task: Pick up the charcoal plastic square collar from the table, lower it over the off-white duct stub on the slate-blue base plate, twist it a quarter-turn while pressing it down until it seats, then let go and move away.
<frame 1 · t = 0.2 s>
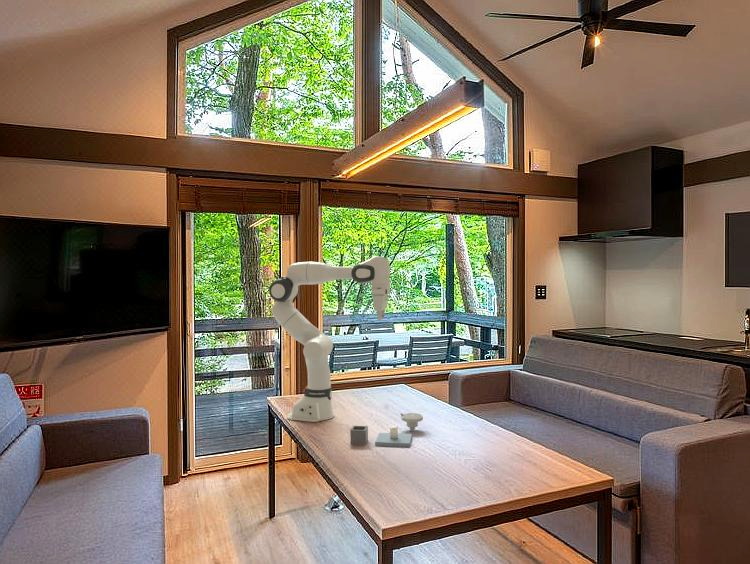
hand: (381, 319, 248), 48 cm above the table, tool pointing down, fingers open, 8 cm apart
showerhead: (411, 430, 231), on the table
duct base: (394, 441, 217), on the table
collar: (359, 442, 216), on the table
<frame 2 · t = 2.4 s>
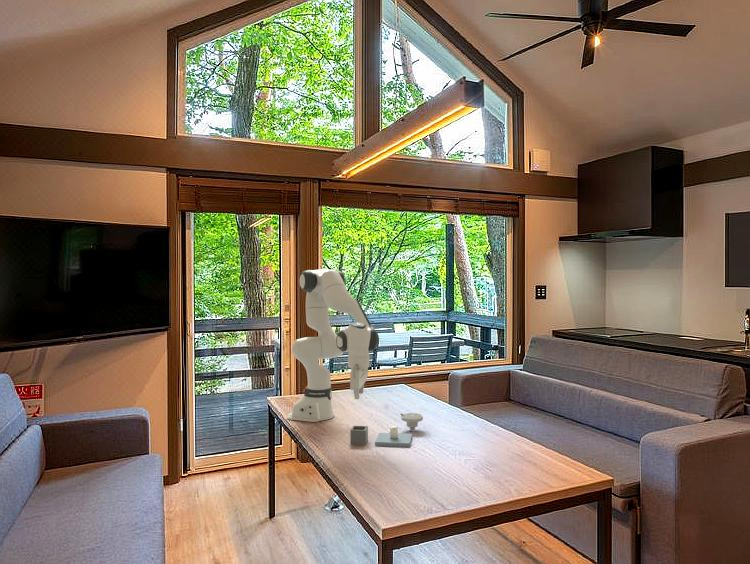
hand: (359, 396, 215), 19 cm above the table, tool pointing down, fingers open, 8 cm apart
nothing on the table moved.
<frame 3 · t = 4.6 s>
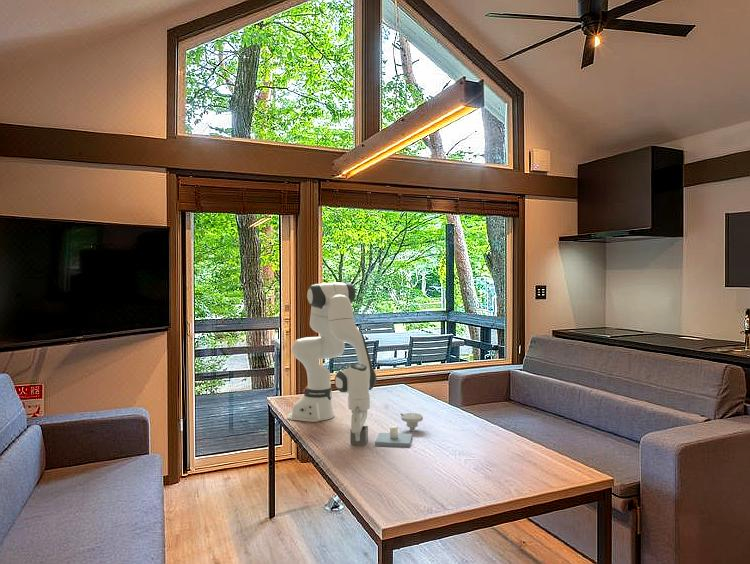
hand: (359, 437, 216), 2 cm above the table, tool pointing down, fingers closed on collar, 6 cm apart
collar: (359, 442, 216), on the table, touching gripper
everything else where it was.
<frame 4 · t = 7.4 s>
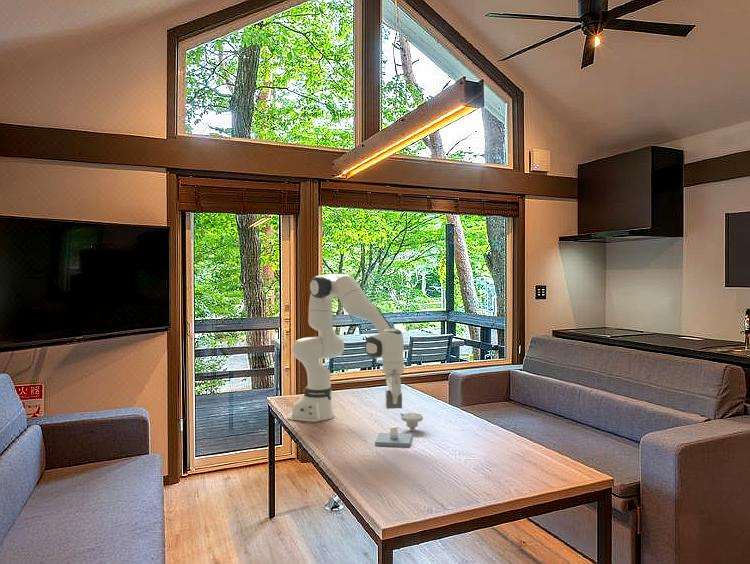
hand: (393, 401, 216), 17 cm above the table, tool pointing down, fingers closed on collar, 6 cm apart
collar: (393, 406, 216), point 15 cm above the table, touching gripper
everything else where it was.
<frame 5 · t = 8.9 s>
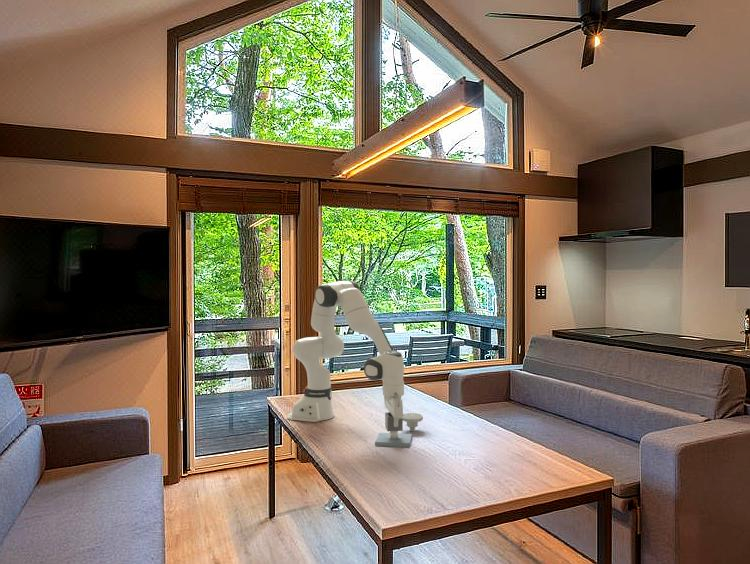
hand: (393, 423, 216), 7 cm above the table, tool pointing down, fingers closed on collar, 6 cm apart
collar: (393, 428, 216), point 5 cm above the table, touching gripper
everything else where it was.
when the fingers open (4 cm above the table, at t = 10.4 s): collar stays where it is, resting on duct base.
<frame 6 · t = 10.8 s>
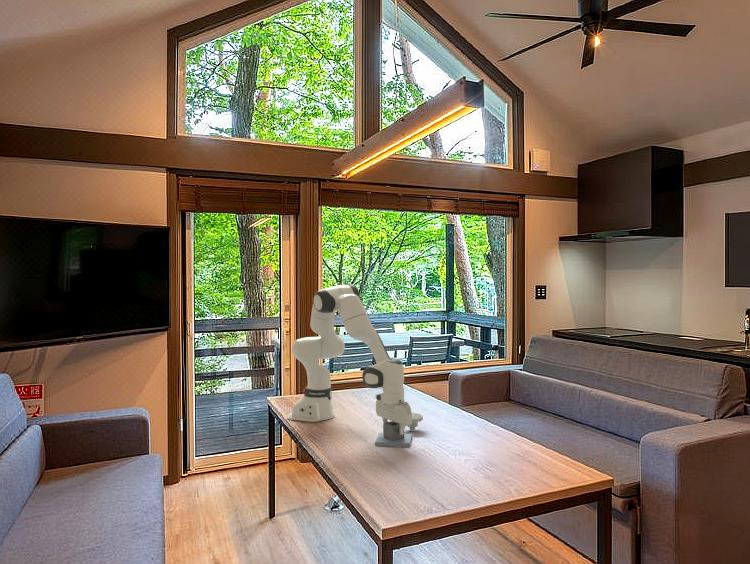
hand: (393, 431, 216), 4 cm above the table, tool pointing down, fingers open, 8 cm apart
collar: (393, 437, 217), point 1 cm above the table, touching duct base
everything else where it was.
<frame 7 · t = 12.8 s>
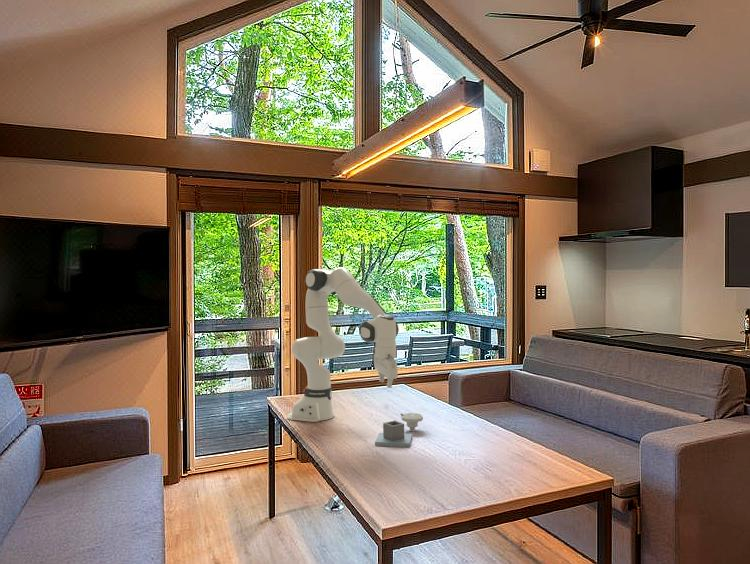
hand: (385, 384, 224), 22 cm above the table, tool pointing down, fingers open, 8 cm apart
nothing on the table moved.
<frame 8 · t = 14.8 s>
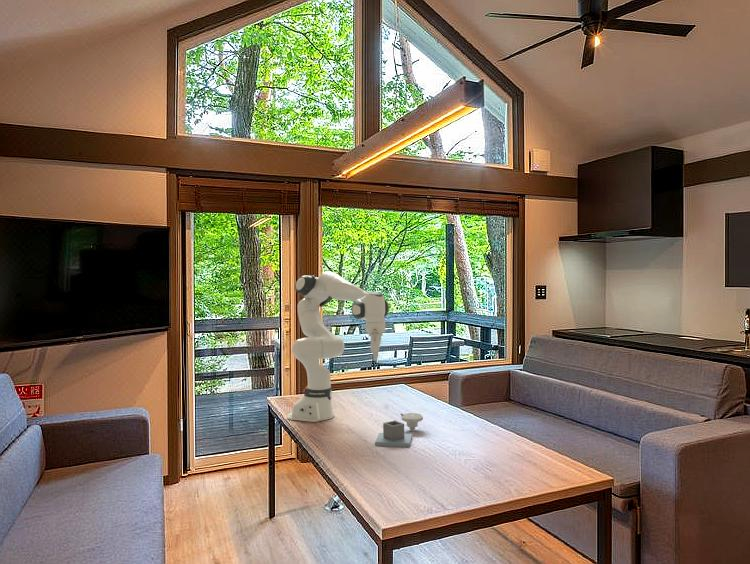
hand: (375, 358, 235), 31 cm above the table, tool pointing down, fingers open, 8 cm apart
nothing on the table moved.
at the end: collar 0.1 cm from the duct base (horizontally); collar point 1.5 cm above the table; the gripper is holding nothing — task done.
